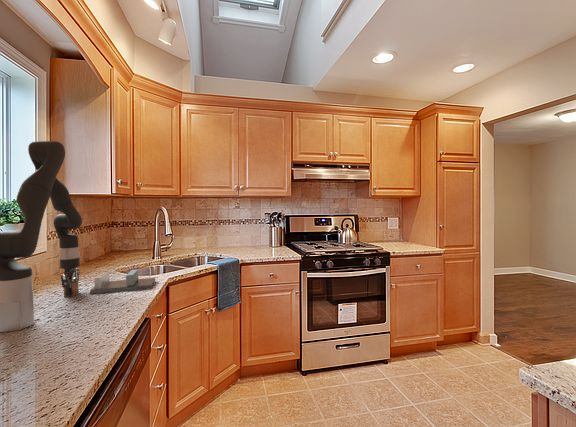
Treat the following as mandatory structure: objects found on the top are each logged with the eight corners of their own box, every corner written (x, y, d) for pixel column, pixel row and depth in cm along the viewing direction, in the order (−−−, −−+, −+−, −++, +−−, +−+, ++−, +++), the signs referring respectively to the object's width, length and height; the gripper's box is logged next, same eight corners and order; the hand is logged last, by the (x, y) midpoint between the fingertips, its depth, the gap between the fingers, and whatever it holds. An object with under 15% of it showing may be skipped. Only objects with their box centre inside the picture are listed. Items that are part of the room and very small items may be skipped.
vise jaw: (133, 285, 146) (132, 274, 146) (126, 285, 145) (126, 275, 145) (138, 278, 158) (138, 269, 158) (132, 279, 157) (131, 269, 157)
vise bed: (151, 288, 148) (150, 274, 147) (90, 294, 141) (89, 279, 140) (155, 281, 161) (154, 268, 161) (100, 285, 154) (99, 272, 154)
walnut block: (74, 296, 138) (73, 283, 137) (64, 297, 136) (63, 284, 136) (78, 293, 142) (78, 280, 142) (68, 293, 141) (68, 281, 141)
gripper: (72, 259, 133) (74, 297, 134) (85, 254, 146) (86, 288, 147) (52, 260, 131) (54, 299, 131) (67, 254, 144) (68, 290, 145)
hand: (71, 293), depth 139 cm, fingers closed on walnut block, 5 cm apart
